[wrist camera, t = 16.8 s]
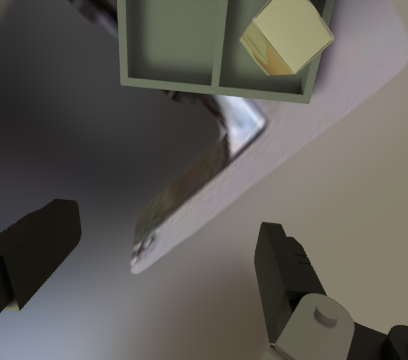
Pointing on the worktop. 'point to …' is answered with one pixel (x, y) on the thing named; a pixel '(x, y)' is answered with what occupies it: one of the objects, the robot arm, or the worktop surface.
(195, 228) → the worktop surface
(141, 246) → the worktop surface
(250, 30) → the skincare box
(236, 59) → the carton tray
